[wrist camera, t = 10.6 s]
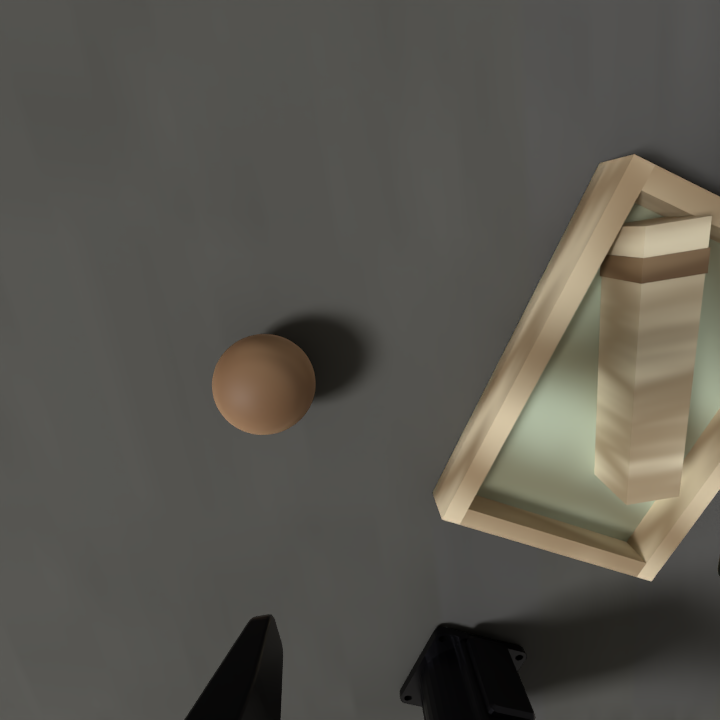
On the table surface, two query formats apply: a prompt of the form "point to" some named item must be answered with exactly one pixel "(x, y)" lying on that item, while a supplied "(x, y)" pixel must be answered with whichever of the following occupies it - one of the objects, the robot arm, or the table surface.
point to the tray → (585, 399)
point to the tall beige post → (648, 354)
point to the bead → (263, 384)
